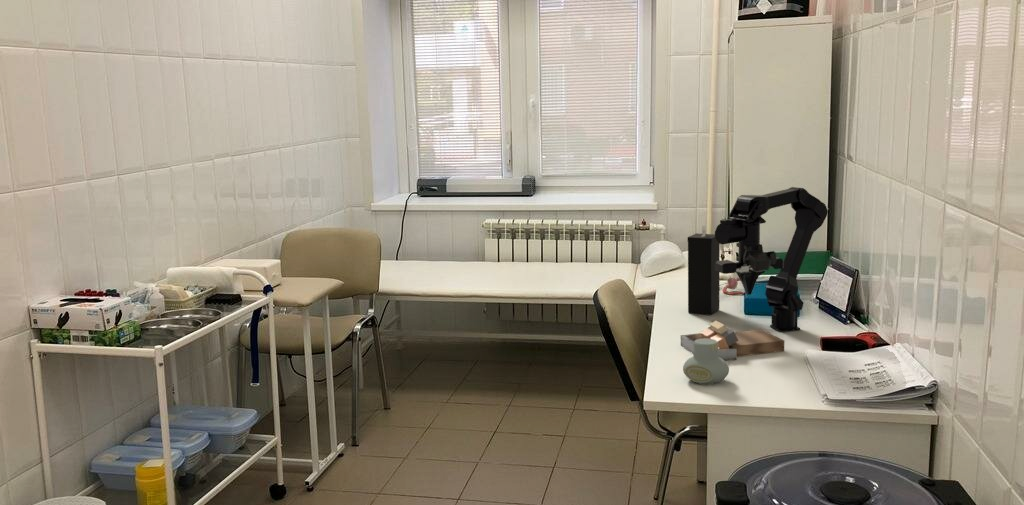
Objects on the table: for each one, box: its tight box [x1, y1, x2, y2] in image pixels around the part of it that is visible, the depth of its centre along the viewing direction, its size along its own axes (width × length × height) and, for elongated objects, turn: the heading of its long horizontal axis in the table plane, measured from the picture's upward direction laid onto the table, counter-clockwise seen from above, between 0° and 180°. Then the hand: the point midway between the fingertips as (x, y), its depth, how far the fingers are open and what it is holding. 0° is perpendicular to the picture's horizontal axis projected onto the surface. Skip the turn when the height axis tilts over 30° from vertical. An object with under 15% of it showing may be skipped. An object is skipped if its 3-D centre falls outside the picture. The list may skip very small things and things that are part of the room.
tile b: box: [710, 334, 729, 350], centre depth 229 cm, size 4×4×2 cm
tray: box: [680, 332, 738, 362], centre depth 231 cm, size 8×17×3 cm, turn 13°
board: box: [729, 328, 785, 357], centre depth 234 cm, size 15×12×3 cm
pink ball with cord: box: [719, 277, 744, 296], centre depth 297 cm, size 20×9×25 cm
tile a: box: [700, 328, 716, 339], centre depth 234 cm, size 4×4×2 cm
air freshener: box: [682, 338, 730, 386], centre depth 208 cm, size 11×8×10 cm
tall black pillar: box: [687, 225, 721, 316], centre depth 272 cm, size 8×8×28 cm
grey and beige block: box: [707, 320, 739, 346], centre depth 231 cm, size 3×10×5 cm, turn 13°
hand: (748, 294), depth 243 cm, fingers closed
